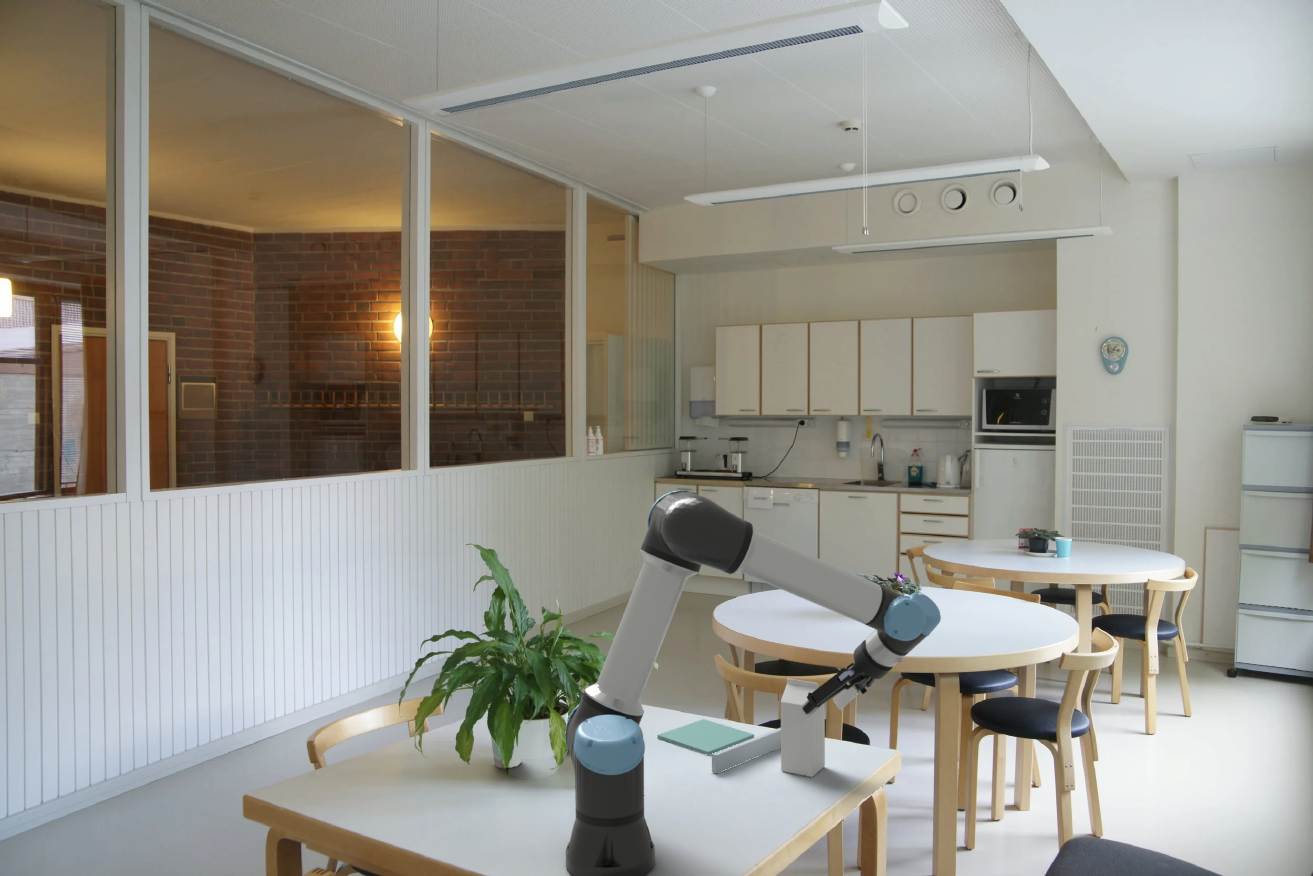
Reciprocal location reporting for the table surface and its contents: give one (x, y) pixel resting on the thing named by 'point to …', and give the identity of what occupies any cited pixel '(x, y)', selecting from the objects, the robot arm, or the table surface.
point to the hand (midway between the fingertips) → (818, 711)
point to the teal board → (705, 736)
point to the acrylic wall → (746, 750)
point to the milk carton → (801, 731)
